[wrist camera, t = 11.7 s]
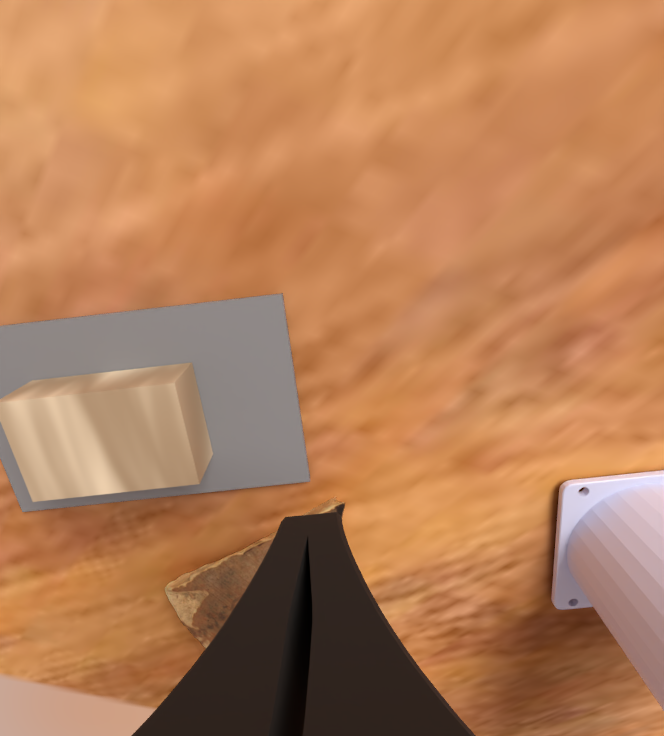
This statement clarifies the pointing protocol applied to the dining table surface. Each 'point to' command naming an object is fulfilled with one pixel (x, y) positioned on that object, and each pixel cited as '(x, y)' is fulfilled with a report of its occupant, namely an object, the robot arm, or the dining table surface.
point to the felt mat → (213, 376)
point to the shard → (223, 584)
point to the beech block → (108, 432)
